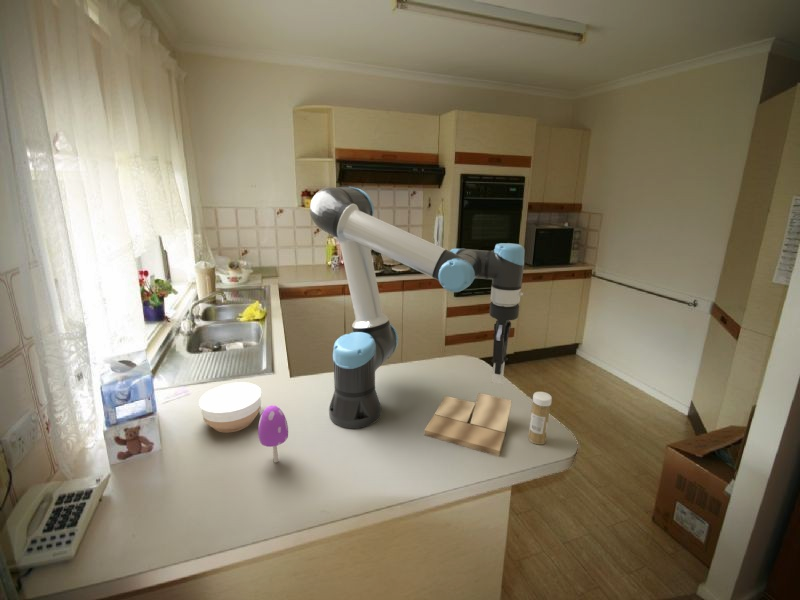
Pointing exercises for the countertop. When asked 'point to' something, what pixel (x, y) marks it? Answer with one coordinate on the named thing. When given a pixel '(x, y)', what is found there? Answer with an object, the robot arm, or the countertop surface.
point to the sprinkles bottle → (539, 417)
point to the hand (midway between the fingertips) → (497, 382)
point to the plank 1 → (455, 409)
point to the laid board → (465, 434)
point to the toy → (273, 429)
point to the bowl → (231, 406)
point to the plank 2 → (491, 412)
